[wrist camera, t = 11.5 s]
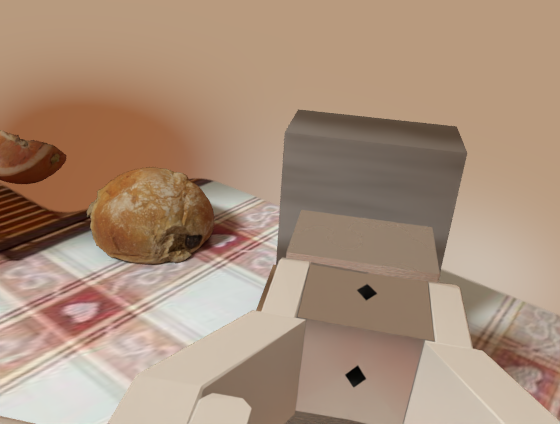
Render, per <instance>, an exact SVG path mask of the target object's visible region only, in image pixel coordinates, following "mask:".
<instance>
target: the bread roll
mask: <svg viewBox="0 0 560 424" xmlns="http://www.w3.org/2000/svg"><path fill="white" fill-rule="evenodd" d="M97 193H98V194H97V199H96V200H95V201H94V202H92V203H91V204H90V205H89V208H88V210H87V217H89V216H91V217H90V218H91V225H90V228H91V230H92V235H93V238H94V240H95V242H96V246H99V247H100V248H101V249H102V250H103V251H104V252H106V253H107V254H108V256H110V257H111V258H118V259H121V260H123V261H129V262H132V263H139V264H161V263H164V262H174V263H179V262H181V261H184V260H186V259H187V258H188V257H190V256H191V254H192V253H193V252H194V251H196V250H197V249H198V248H199V247H200V246H201V245H202V244H203V243H204V242H205V241H206V240H208V239H209V238H210V236H211V234H212V232H213V228H214V213H213V209H212V206H211V204H210V201H209V200H208V198H207V197H206V195H205V194H204V193H203V191H202V190H201V189H200V188H199V187H198V186H197V185H196V184H194V183H193V182H191V181H190V180H189V179H188V177H187V176H186V175H185V174H183V173H179V172H173V171H171V170H167V169H162V168H155V167H147V168H141V169H136V170H131V171H128V172H126V173H123V174H121V175H119V176H117V177H116V178H115V179H113V180H111V181H110V182H109V183H108V184H107V185H106V186H105V187H104V188H102V189H100V190H98V192H97Z"/></svg>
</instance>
